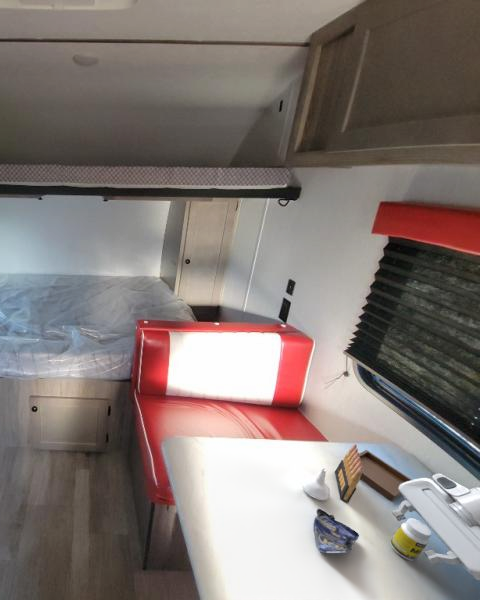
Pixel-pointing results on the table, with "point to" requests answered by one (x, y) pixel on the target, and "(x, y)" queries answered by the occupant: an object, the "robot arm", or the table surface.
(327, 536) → the snack package
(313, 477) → the white funnel
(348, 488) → the ammunition clip
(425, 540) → the supplement bottle
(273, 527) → the table surface
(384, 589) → the table surface
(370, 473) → the tray
